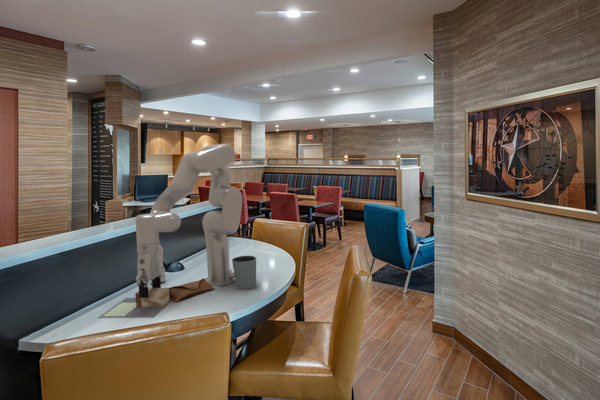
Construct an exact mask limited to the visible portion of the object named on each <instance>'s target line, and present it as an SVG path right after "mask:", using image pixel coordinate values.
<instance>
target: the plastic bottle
mask: <svg viewBox="0 0 600 400" xmlns="http://www.w3.org/2000/svg"><path fill="white" fill-rule="evenodd" d="M159 251H160V256H161V264H162V273H161V274H160V275H161V278H160V279H161V283H163V282H165V280H166V276H167V275H166V272H165V268H164V248H163V247H162V245H161V244H160V243H159ZM149 281H150V282H151V283H152V280H149Z"/></svg>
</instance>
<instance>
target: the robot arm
mask: <svg viewBox="0 0 600 400" xmlns="http://www.w3.org/2000/svg"><path fill="white" fill-rule="evenodd" d="M235 158H236V151H235V149H234V147H233V146H232V145H231V144H228V143H219V144H217V143H215V144H210V145H206V146H204V147H203V148H202V149H201V151H191V152H187V153H185V154H184V155H183V156H182V159H181V160H180V162H179V165H178V167H177V169H176V171H175V173H174V176H173V178H172V180H171V182H170V184H169V185H168V186H167V187H166V188H165V190H164V191H163V192H162V193H160V195H159V196H158V197H157V198H156V200H155V201H154V204H153V205H152V208H151V209H150V212H149V213H143V214H138V215H136V217H135V231H136V254H137V276H136V277H135V281H136V284H137V288H138V292H139V297H140V298H148V297H149V294H148V288H149V286H148V283H149V281H150V280H152V282H151V288H162V285H161V284H162V282H161V279H160V278H161V275H160V274H161V273H162V264H161V256H160V251H159V244H160V237H159V235H160V233H173V232H176V231H178V229H179V228H180V227H181V225H182V219H181V217H180V216H179V215H178V214H177V213H175V212H172V211H171V210H172V209H173V207H174V206H175V205H176V204H177V203H178V202H179V201H181V200H182V199H184V198H186V197H187V196H189V195H190V194H192V192H193V190H194V187H195V184H196V182H197V180H198V178H199V176H200V174H202V173H203V174H204V173H205V174H206V173H210V175H211V176H210V185H209V193H208V194H209V195H208V202H209V204H210V206H212V207H213V208H216V209H217V208H218V209H222V210H210V211H208V212H206V213H205V214H204V216H203V217H202V229H203V232H204V237H205V247H206V250H205V251H206V261H207V262H206V264H207V265H206V266H207V278H204V279H205V280H206V281H207V282H208V283H209V284H210V285H211V286H212V287H213V286H214V287H215V286H220V287H221V286H225V285H229V284H232V283H233V282H234V281H235V276H234V271H233V269H230V267H231V265H230V253H229V252H230V251H229V250H230V249H229V240H228V239H229V238H228V236H229V235H230V236H231V235H233V234H235V233H236V232H237V231H238V230H239V228H240V227H239V226H240V223H241V215H242V210H243V209H242V208H243V195H242V192H241V190H240V189H239V188H238V187H236V186H233V185H231V184H232V182H231V180H232V174H231V173H232V172H231V169H230V167H229V164H232V162H234V160H235Z"/></svg>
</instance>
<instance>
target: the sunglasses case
mask: <svg viewBox="0 0 600 400" xmlns="http://www.w3.org/2000/svg"><path fill="white" fill-rule="evenodd" d="M205 279H206V278H201V279H198V280H195V281H191V282H187V283H184V284H179V285H177V286H176V285H175V286H171V287H168V288H169V296H170V300H172V301H171V302H180V301H183V300H186V299H190V298H192V297H196V296H200V295H203V294H205V293H208V292H213V291H214V290H216V288H213V286H211V285H210V284H209V283H208V282H207V281H206V280H205Z"/></svg>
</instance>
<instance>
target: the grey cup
mask: <svg viewBox="0 0 600 400" xmlns="http://www.w3.org/2000/svg"><path fill="white" fill-rule="evenodd" d="M231 262H232V268H233V269H232V270H233V273H234V276H235V278H234V281H235V283H234V284H235V288H236V289H237V290H244V291H245V289H246V290H251V288H252V289H254V288H256V286H257V257H256V256H254V255H241V256H235V257H233V258H232V259H231Z"/></svg>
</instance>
